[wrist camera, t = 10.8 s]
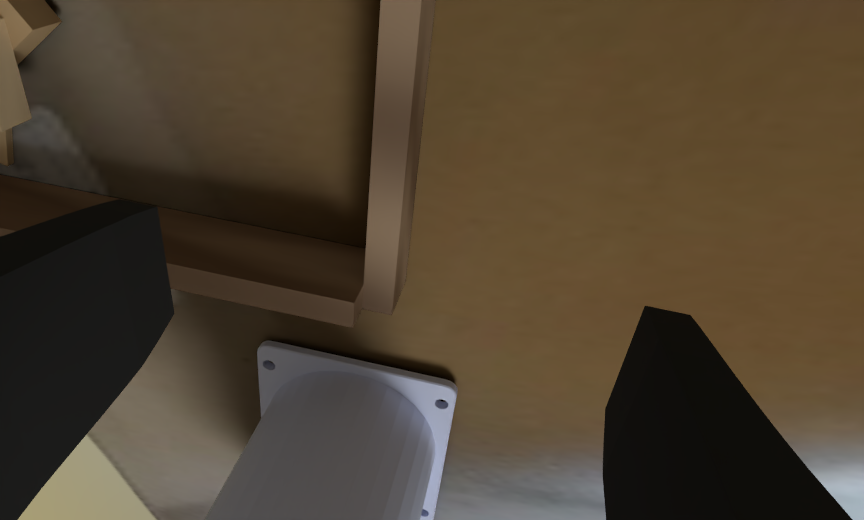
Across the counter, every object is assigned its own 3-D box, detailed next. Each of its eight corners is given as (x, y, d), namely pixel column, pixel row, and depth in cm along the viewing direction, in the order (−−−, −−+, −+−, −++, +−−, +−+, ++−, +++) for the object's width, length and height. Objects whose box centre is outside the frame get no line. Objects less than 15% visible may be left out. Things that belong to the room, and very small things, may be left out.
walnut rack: (405, 280, 22) (383, 334, 20) (-31, 190, 24) (-102, 229, 21) (447, -115, 15) (422, -109, 13) (-165, -201, 17) (-291, -210, 15)
